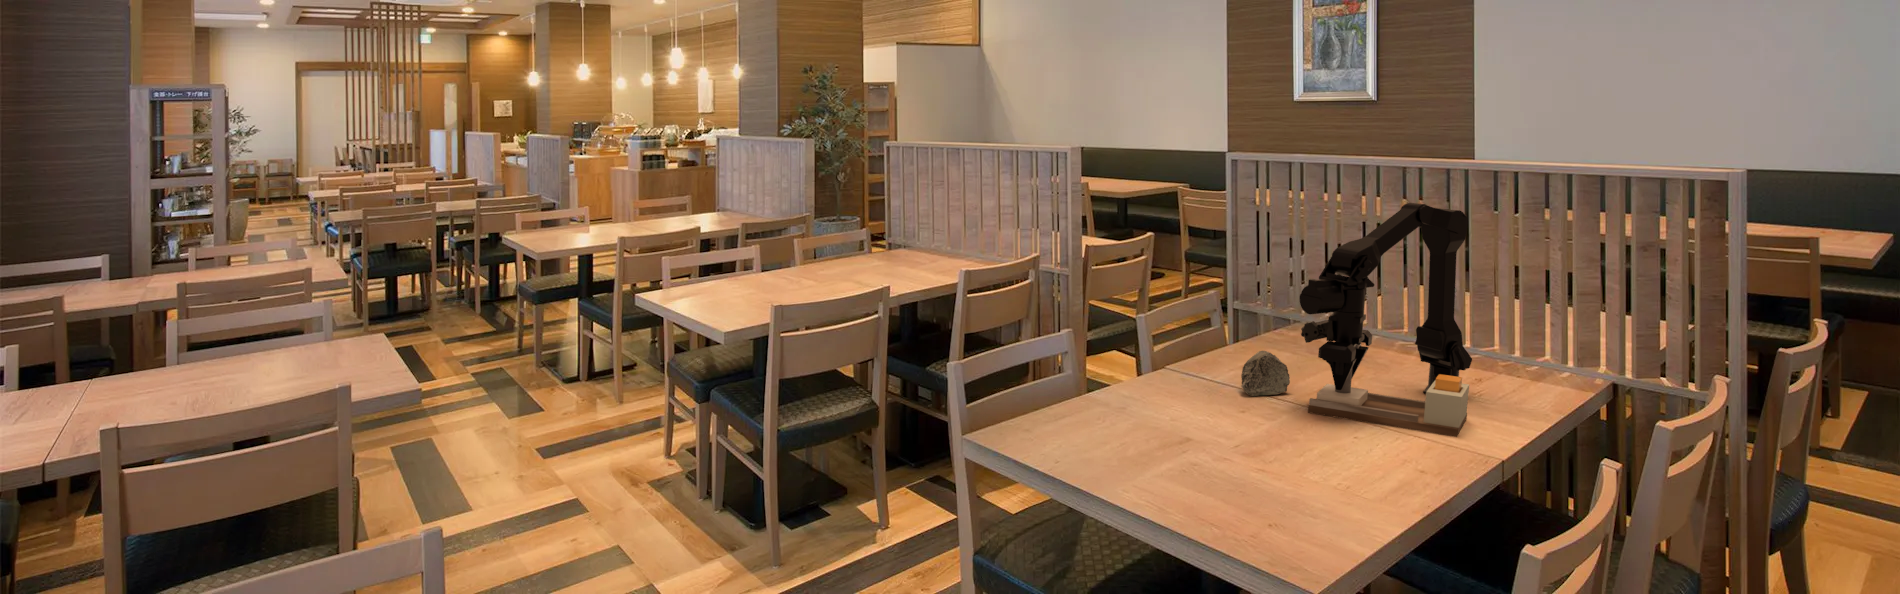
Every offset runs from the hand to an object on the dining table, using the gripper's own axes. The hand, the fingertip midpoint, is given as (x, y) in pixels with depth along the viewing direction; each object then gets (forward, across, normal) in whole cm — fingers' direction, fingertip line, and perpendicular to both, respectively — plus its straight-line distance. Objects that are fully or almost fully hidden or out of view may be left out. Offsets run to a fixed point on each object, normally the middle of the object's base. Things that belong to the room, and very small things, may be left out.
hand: (1343, 385), depth 197 cm
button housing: (+4, 0, +19) cm, 19 cm away
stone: (+5, -4, -17) cm, 18 cm away
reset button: (+1, 0, +19) cm, 19 cm away
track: (+5, 0, +8) cm, 10 cm away
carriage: (+3, 0, 0) cm, 3 cm away
